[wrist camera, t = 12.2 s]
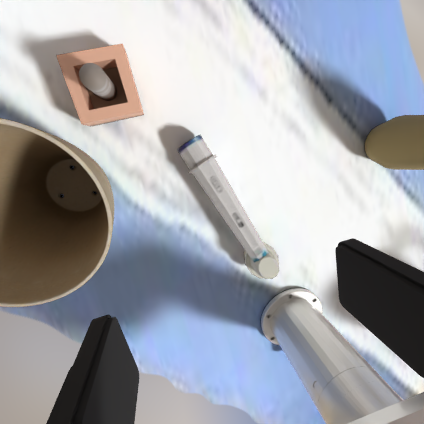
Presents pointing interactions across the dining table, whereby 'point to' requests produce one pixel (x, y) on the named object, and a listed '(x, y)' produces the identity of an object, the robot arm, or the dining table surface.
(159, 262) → the dining table surface
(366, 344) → the dining table surface
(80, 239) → the plant pot
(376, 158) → the squeeze bottle
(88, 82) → the post stand
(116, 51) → the ring
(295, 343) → the robot arm
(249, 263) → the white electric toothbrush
